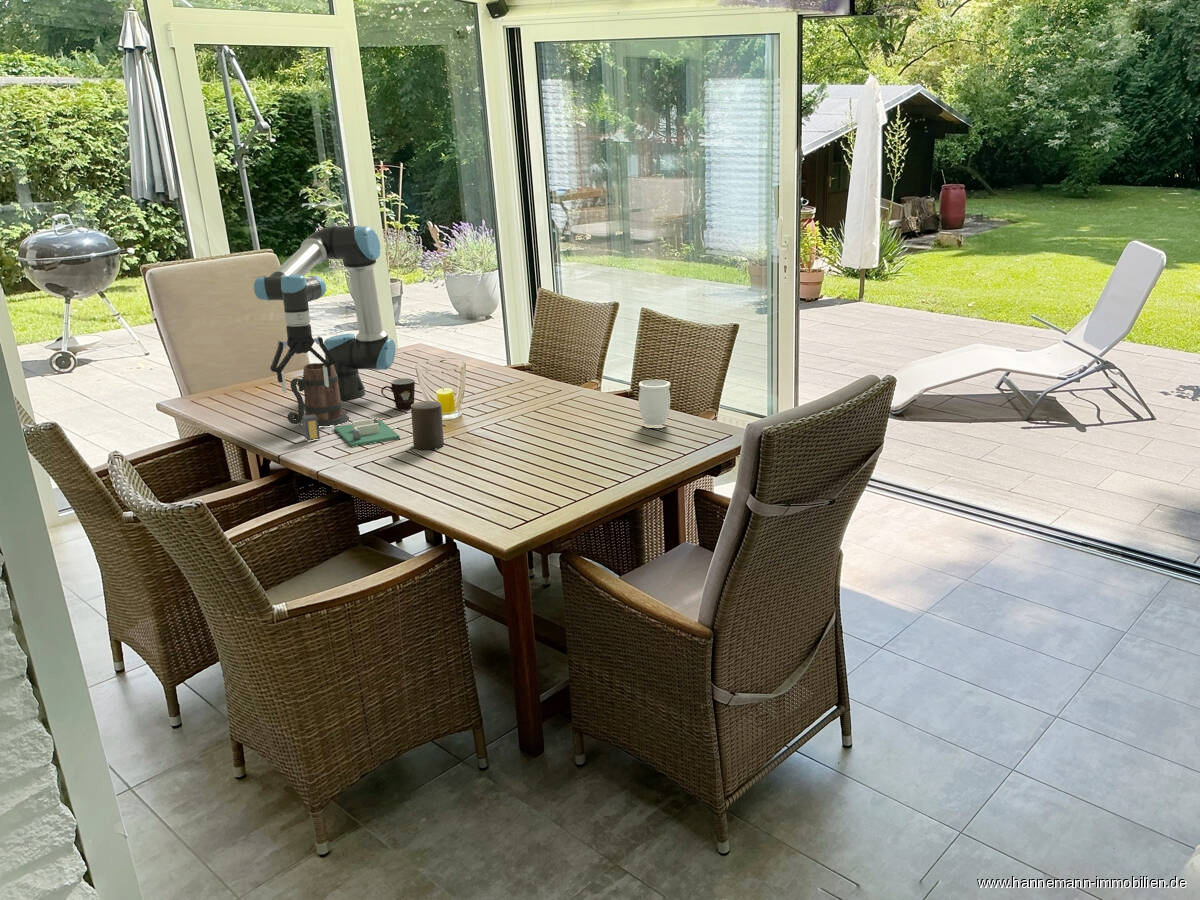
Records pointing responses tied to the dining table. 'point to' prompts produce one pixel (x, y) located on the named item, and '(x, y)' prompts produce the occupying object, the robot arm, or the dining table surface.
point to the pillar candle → (427, 425)
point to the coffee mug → (402, 392)
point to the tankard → (318, 396)
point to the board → (366, 432)
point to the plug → (311, 427)
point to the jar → (654, 401)
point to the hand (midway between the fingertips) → (305, 389)
